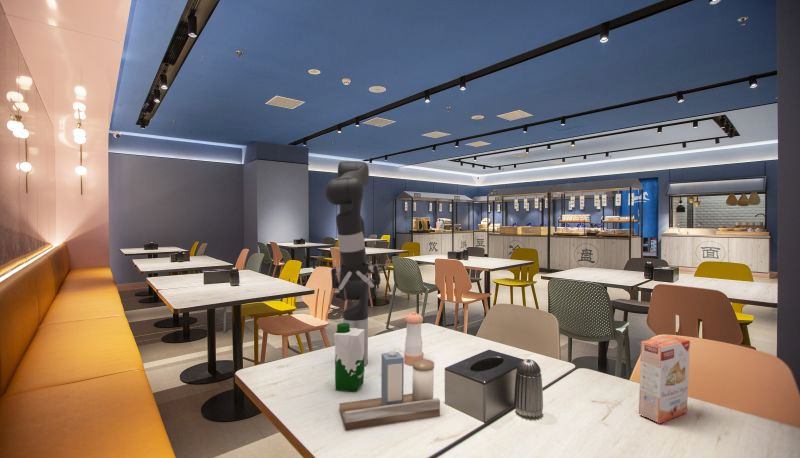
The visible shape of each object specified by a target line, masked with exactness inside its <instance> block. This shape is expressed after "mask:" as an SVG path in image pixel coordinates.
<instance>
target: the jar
mask: <svg viewBox="0 0 800 458" xmlns="http://www.w3.org/2000/svg"><path fill="white" fill-rule="evenodd" d="M411 366H412V382H411V383H412V386H411V388H412V389H411V390H412V392H411V394H412V402H415V401H422V400H429V399H434V383H435V382H434V381H435V379H434V377H435V375H434V374H435V373H434V372H435V371H434V370H435V362H434V361H433V360H430V359H427V358H425V359H424V358H423V359H418V360H414V361H413V363H412V365H411Z"/></svg>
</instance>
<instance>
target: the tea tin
mask: <svg viewBox="0 0 800 458" xmlns="http://www.w3.org/2000/svg"><path fill="white" fill-rule="evenodd" d="M380 363H381V365H380V366H381V367H380V369H381V376H380V379H381V382H380V383H381V384H380V385H381V393H380V394H381V397H380V398H381V403H382V405H383V406H387V405H394V404H401V403H403V395H404V387H405V386H404V376H405V375H404V371H405V370H404V369H405V367H404V364H405V363H404V356H403V355H402V354H401V353H400V351H389V352H384V353H381V362H380Z"/></svg>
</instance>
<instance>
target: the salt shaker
mask: <svg viewBox="0 0 800 458" xmlns="http://www.w3.org/2000/svg"><path fill="white" fill-rule="evenodd" d="M423 321H424V317H423V316H422V315H421V314H419V313H417V312H415V311H412V312H411V313H408V314H405V316H404V322H405V323H406V335H405V343H404V354H403V358H404V364H405V365H408V366H412V363H413V361H414V360H418V359H424V352H423V338H422V323H423Z"/></svg>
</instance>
